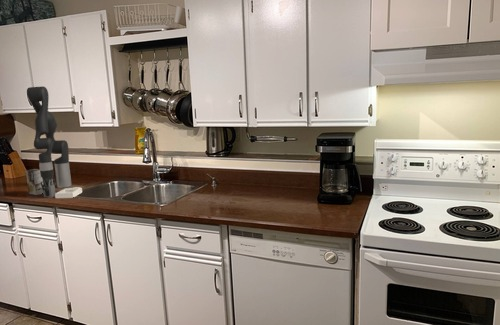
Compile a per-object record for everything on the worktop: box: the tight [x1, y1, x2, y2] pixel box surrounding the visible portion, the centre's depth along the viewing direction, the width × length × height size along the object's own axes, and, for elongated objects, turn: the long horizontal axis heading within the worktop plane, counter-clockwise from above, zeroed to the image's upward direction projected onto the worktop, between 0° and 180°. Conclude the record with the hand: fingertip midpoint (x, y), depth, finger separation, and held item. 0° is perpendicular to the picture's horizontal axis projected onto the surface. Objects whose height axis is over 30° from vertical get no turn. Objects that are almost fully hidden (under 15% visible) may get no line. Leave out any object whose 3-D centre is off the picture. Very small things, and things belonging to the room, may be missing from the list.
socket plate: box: [54, 186, 83, 199], centre depth 242 cm, size 14×11×4 cm
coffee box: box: [25, 168, 44, 196], centre depth 248 cm, size 9×6×16 cm
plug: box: [43, 184, 56, 198], centre depth 241 cm, size 5×5×7 cm
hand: (49, 194), depth 241 cm, fingers closed on plug, 5 cm apart
